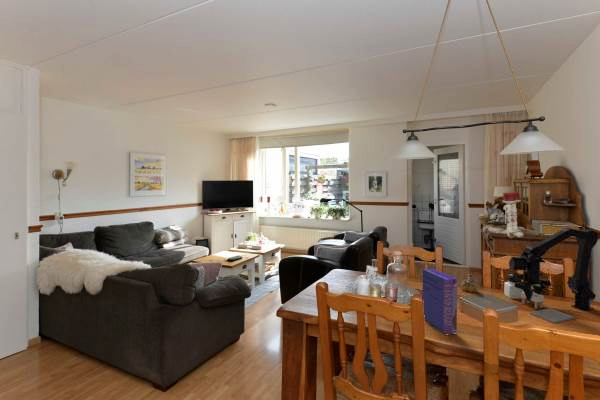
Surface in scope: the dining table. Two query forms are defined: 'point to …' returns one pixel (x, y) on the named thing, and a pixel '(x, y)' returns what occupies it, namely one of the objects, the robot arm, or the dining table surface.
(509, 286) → the medicine bottle
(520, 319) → the dining table surface
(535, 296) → the stool
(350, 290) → the dining table surface
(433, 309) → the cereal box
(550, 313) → the tile
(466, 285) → the ornament
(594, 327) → the dining table surface
